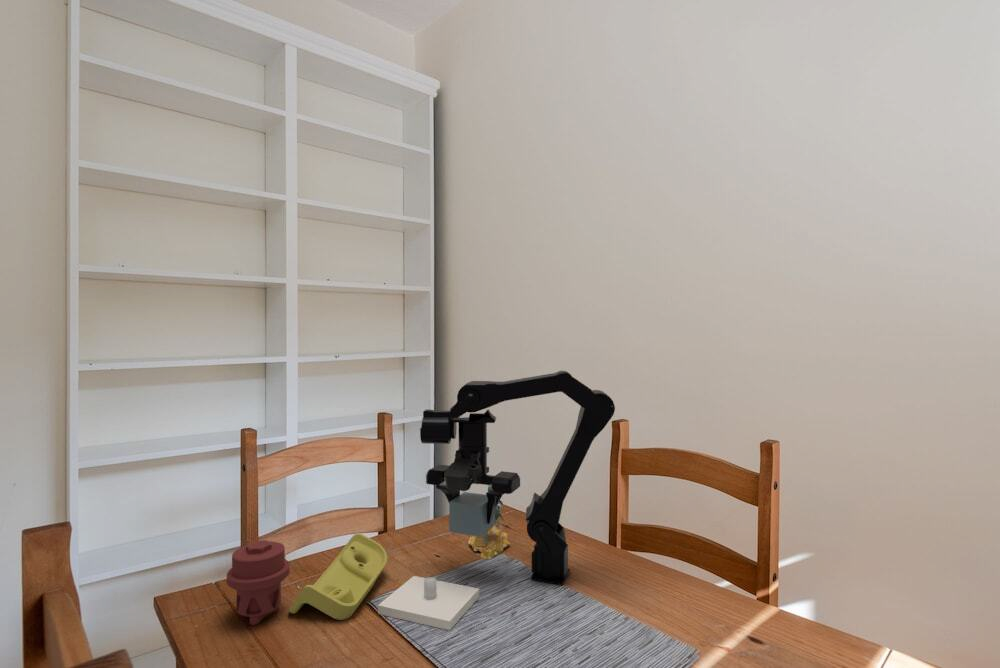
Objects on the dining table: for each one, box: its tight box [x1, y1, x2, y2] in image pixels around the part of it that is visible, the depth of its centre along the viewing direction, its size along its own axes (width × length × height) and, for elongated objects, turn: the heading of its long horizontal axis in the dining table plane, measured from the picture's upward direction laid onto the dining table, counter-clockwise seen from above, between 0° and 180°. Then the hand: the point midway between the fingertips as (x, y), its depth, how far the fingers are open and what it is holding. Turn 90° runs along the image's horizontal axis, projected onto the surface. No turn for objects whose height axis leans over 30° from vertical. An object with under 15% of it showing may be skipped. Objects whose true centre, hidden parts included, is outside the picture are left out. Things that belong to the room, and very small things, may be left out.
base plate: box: [377, 575, 480, 631], centre depth 96 cm, size 14×12×4 cm
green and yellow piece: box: [468, 485, 511, 560], centre depth 124 cm, size 10×18×15 cm, turn 177°
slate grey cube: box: [448, 491, 496, 537], centre depth 109 cm, size 7×7×6 cm
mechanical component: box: [226, 539, 291, 626], centre depth 93 cm, size 12×10×10 cm
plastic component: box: [288, 532, 388, 621], centre depth 101 cm, size 20×8×10 cm
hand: (472, 520), depth 109 cm, fingers closed on slate grey cube, 7 cm apart
